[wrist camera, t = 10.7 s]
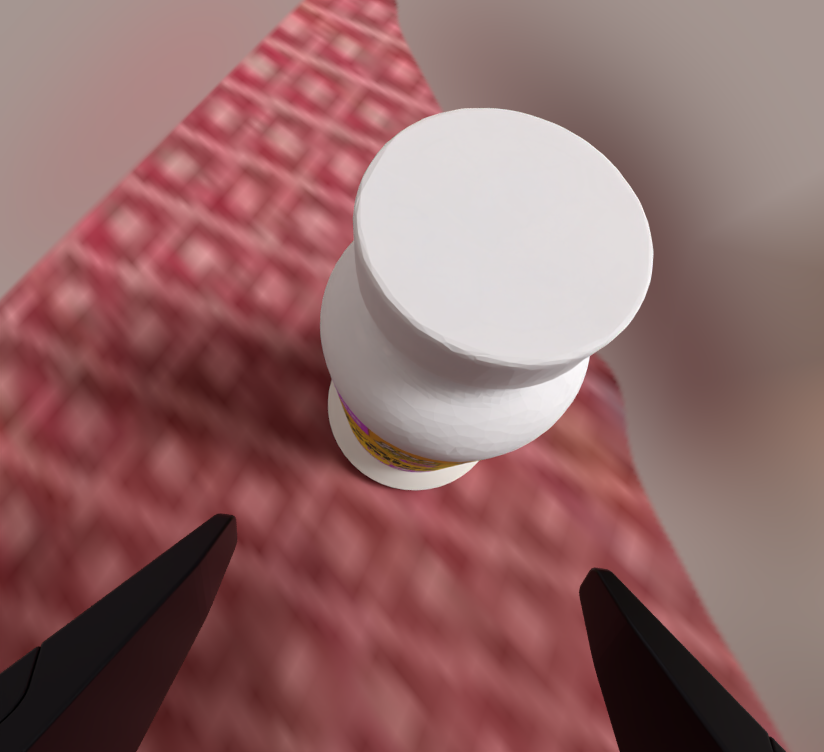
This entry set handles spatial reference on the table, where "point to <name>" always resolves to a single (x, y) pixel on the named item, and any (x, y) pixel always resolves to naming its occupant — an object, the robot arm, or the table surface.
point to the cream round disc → (376, 468)
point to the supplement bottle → (478, 285)
